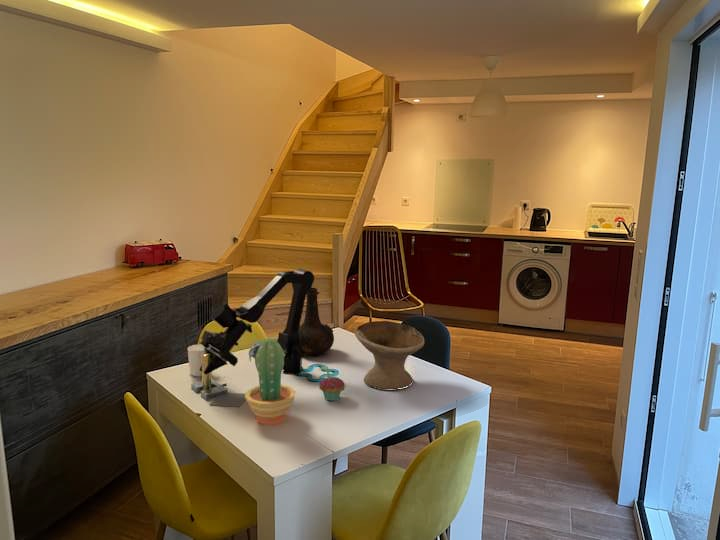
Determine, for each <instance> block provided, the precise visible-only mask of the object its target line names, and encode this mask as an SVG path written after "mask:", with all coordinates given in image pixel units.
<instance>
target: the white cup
mask: <svg viewBox="0 0 720 540" xmlns="http://www.w3.org/2000/svg"><path fill="white" fill-rule="evenodd" d="M204 348H205V347H204V346H203V345H201V344H192V345H190V346H188V347H187V357H188V365H189V374H190V375H191V376H195V377H202V372H201V371H200V367H201V365H202V359H201V355H202V354H205V350H204Z"/></svg>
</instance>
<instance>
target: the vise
mask: <svg viewBox="0 0 720 540" xmlns="http://www.w3.org/2000/svg"><path fill="white" fill-rule="evenodd" d="M211 383H212V388H211V389H206V390H203V387H202V380H201V381H197V382H194V383H191V385H190V387H191V390H192V389H193V392H195V393H200V397H201V398H202V399H204V400H205V401H209V400H214V399H215V398H216V397H217V396H220V395H224V394H228V393H229V389H228V388H226V387H227V386H228V384H227V382H225V383H221V384H220V383H219V382H217V381H216V380H215V379H213V378H211Z"/></svg>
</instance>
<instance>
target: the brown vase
mask: <svg viewBox="0 0 720 540" xmlns="http://www.w3.org/2000/svg"><path fill="white" fill-rule="evenodd" d="M319 294H320V292H319V291H318V288H316V287H311V289H310V290H309V291H308V293H307V294H306V303H305V304H306V305H305V306H306V307H305V315H304V320H303V322H302V324H300V325H299V330H298V332H299V337H300V347H301V348H302V349H303V350H304V351H305V355H304V356H312V357H313V356H316V357H317V356H321V355H323V354H325V353H327V352H329V350H330V349H331V348H332V347H333V345H334V342H335V335H334V330H333V328H331V327H330V326H329V325H328V324H324V323H322V322H321V319H320V314H319V305H318V295H319Z"/></svg>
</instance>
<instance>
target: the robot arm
mask: <svg viewBox="0 0 720 540" xmlns="http://www.w3.org/2000/svg"><path fill="white" fill-rule="evenodd" d="M314 281H315V275H314V273H313V272H312V271H310V270H306V269H302V268H297V269H296V270H287V271H283V270H281V271H278V272H277V274H276V276H275V277H274V278H273V279H272V280H270V282H269V283H268V284H267V285H266V286H265V287H264V288H263V289H262V290H261V291H259V293H258V294H257V295H256V296H255V297H253V298H251V299H249V300H247V301H246V302H244V303H243V304H242V305H241V306H240V307H238V308H235V309H233V308H232V307H231V306H229V304H227V303H225V302H223V303H222V304H221V305H218V306H217V307H216V308H214V309H213V310H212V311H211V314H210V318H211V319H212V320H213V321H214V322H215V323H217V324H218V325H219V326H221V328H222V329H225V330H224V331H220V332H217V331H215V332H211V331H208V330H204V331H203V334H202V336H201V338H200V339H201V341H200V344H201V345H203V346H204V347H205V348H204V350H205V353H209V354H211V361H210V363H209V364H208V366H207V368H206V369H205V371H204V374H208V373H210V372H211V373H212V372H214V371H215V370H218V369H220V368H221V367H223V366H227V365H228V363H229V364H230V365H231V366H233V367H235V366H236V365H237V364H238V362H239V360H238V359H239V358H238V357H237V356H235V355H234V354H233V353H232V352H231V351H232V349H233V348H234V347H235V346H236V347H237V346H239V343H238V341H239V340H240V339H241V337H243V335H244V334H245V333H246V332H248V333H250V334H251V333H253V330H252V324H251V323H254V324H255V323H256V322H258V321H259V320H260V318H261V317H262V315H263V313H264V311H265V308H266V307H267V305H268V304H269V303H271V301H272V300H273V299H274V298H275V297H276V296H277V295H278V294H279V293H280V292H281V291H282V290H283V288H284V287H286V286H287V284H291V286H292V291H293V294H292V297H291V302H290V306H289V311H288V315H287V320H286V325H285V328H284V330H283V331H280V332H278V336H277V337H278V338H277V339H276V340H277V342H278V343H279V344H280V346H281V348H282V349H283V351H284V367H283V370H282V373H283V374H294V375H295V374H296V375H298V374H297V373H300V374H301V372H302V371H303V369H304V367H303V358H304V357H305V356H306V355H305V351H304V350H303V349H302V348H301V347H300V337H299V332H298V330H299V326H300V325H301V321H302V320H301V319H302V315H303V311H304V306H305V301H306V299H307V295H306V294H307V293H308V291H309V290H310V289H311V288H313V284H314ZM247 322H248V323H247ZM227 362H228V363H227ZM301 370H302V371H301ZM200 371H201V372H202V365H201V367H200Z"/></svg>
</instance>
